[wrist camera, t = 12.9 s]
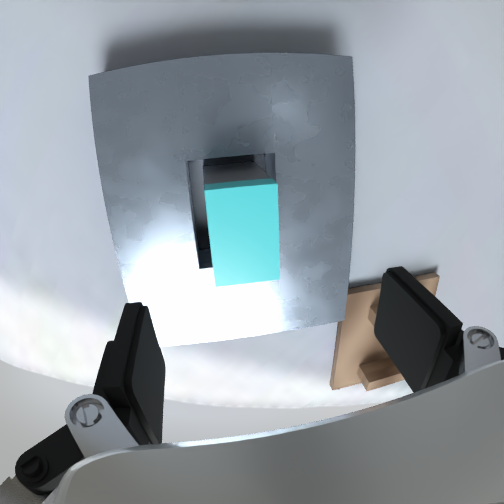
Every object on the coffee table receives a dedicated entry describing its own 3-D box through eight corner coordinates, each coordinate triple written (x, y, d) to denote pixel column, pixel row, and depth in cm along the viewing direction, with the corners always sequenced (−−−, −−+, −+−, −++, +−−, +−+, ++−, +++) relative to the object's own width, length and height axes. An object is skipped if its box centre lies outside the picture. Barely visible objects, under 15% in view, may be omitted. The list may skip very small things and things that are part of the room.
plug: (254, 161, 25) (277, 183, 18) (258, 232, 27) (279, 279, 20) (202, 166, 24) (204, 190, 17) (210, 238, 27) (215, 287, 20)
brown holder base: (434, 272, 32) (455, 289, 29) (410, 362, 38) (424, 381, 35) (341, 289, 31) (357, 312, 27) (329, 384, 37) (340, 408, 33)
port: (333, 62, 22) (352, 56, 19) (331, 299, 31) (344, 320, 28) (103, 79, 20) (88, 75, 17) (147, 324, 29) (143, 348, 26)
